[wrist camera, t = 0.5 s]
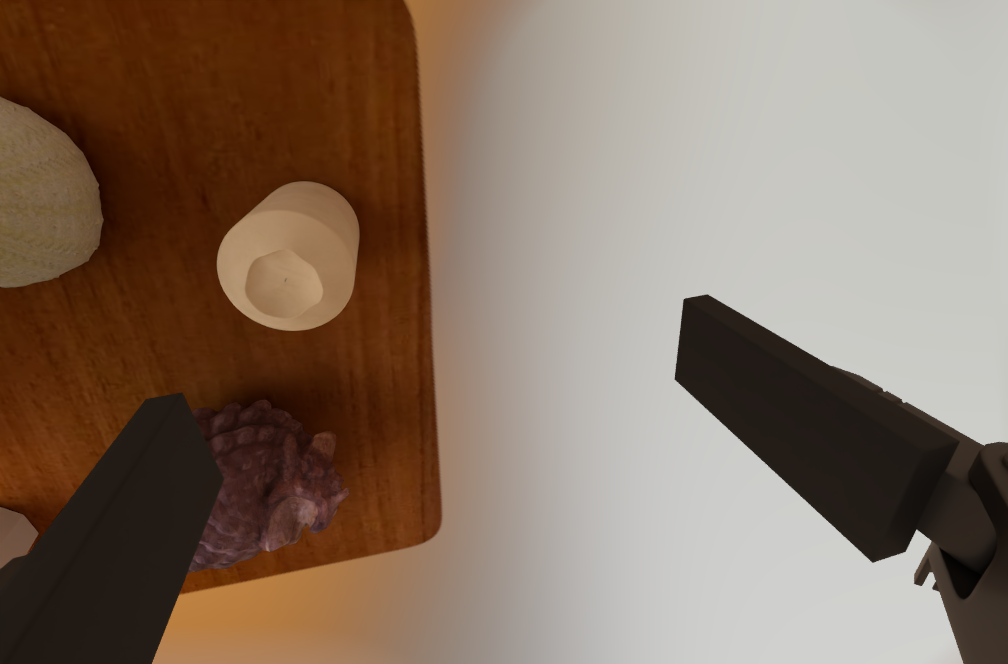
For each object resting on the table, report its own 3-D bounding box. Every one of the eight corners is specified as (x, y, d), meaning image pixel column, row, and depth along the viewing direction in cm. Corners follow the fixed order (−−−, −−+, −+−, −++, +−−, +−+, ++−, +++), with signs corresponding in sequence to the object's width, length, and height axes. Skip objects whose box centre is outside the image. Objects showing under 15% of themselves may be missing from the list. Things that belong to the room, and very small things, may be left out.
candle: (274, 163, 26) (222, 195, 17) (372, 202, 28) (371, 248, 19) (250, 253, 27) (191, 324, 19) (344, 283, 29) (331, 359, 21)
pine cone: (174, 546, 35) (18, 633, 25) (149, 417, 35) (-16, 453, 25) (393, 511, 32) (317, 592, 23) (365, 372, 33) (277, 393, 23)
